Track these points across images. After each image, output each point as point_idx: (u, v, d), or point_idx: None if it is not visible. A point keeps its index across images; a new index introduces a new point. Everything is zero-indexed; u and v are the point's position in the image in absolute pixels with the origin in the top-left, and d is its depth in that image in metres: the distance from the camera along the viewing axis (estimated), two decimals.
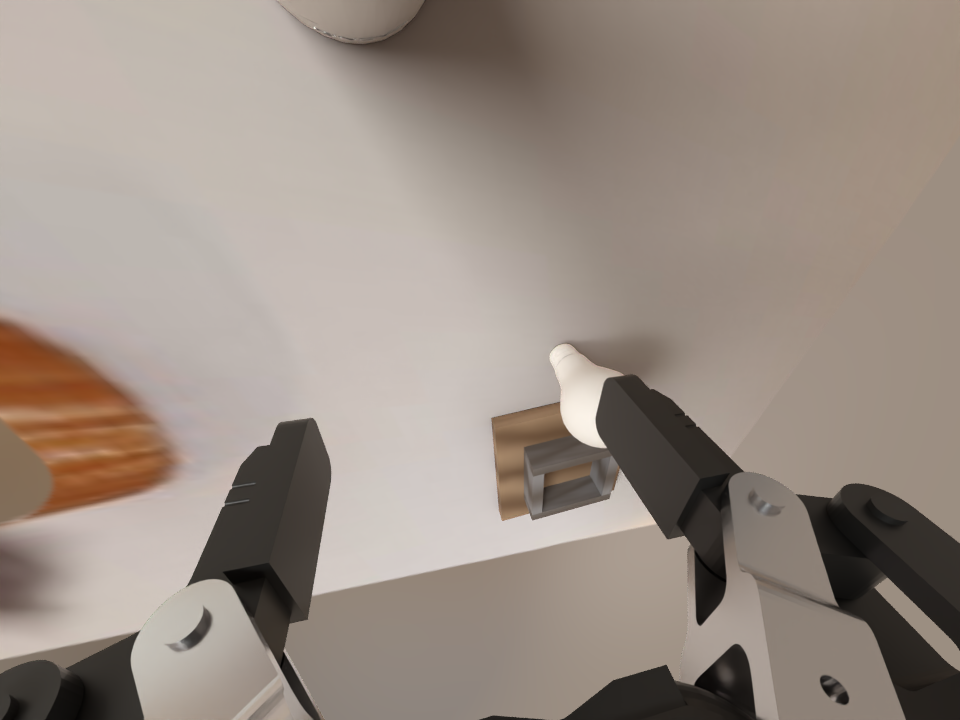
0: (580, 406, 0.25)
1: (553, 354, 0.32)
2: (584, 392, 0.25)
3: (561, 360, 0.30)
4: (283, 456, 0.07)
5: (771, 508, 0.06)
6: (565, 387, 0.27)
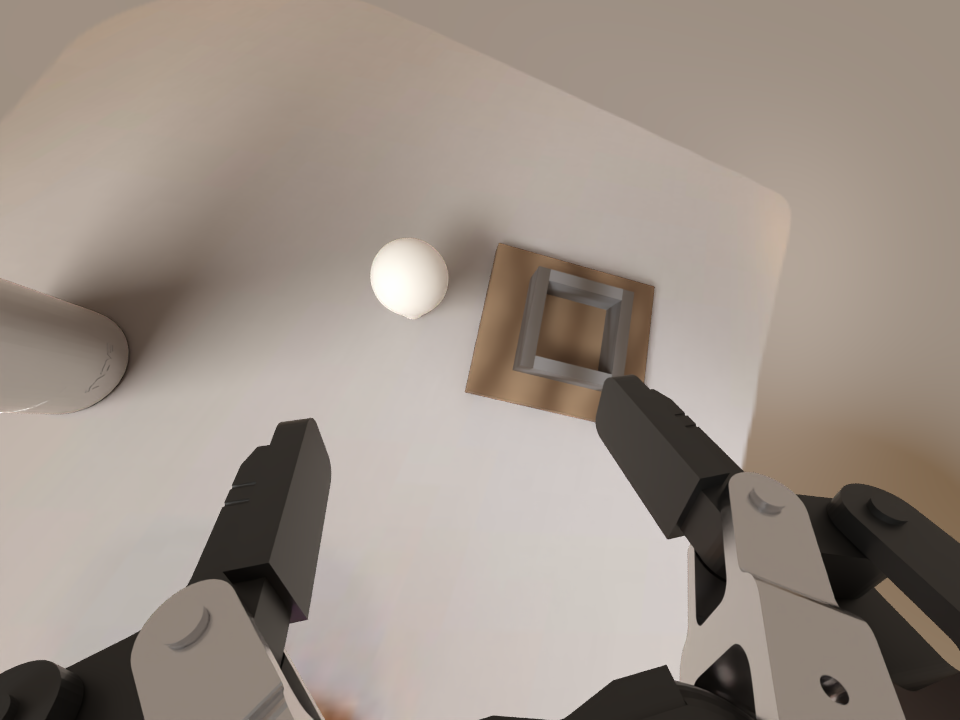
0: (379, 294, 0.27)
1: None
2: (373, 289, 0.27)
3: None
4: (283, 456, 0.07)
5: (771, 508, 0.06)
6: None
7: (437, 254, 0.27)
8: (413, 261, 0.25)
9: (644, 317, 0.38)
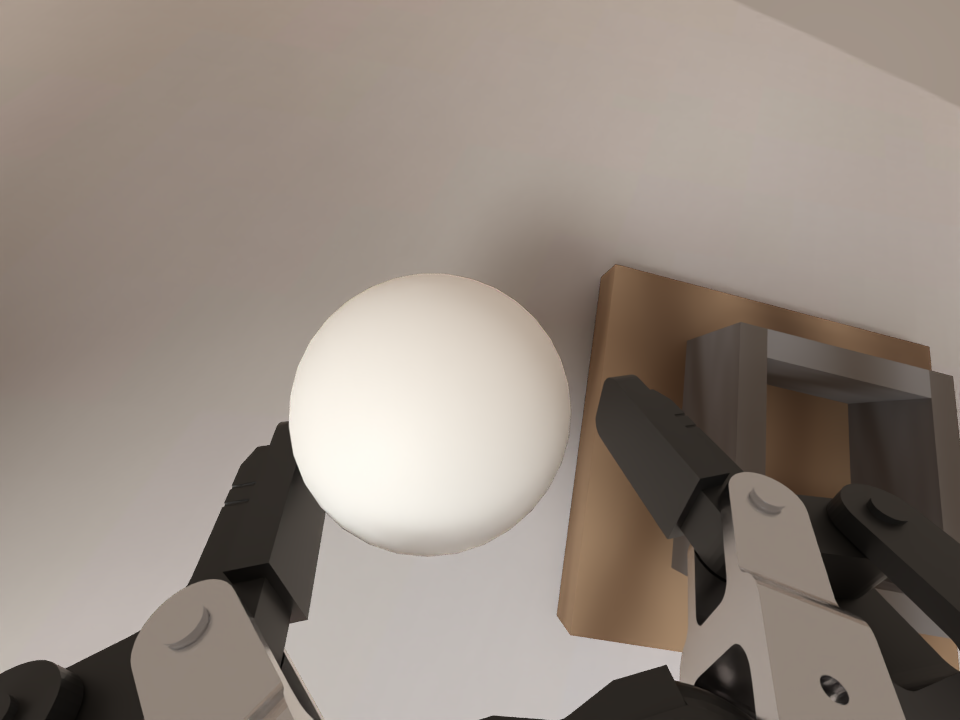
0: (320, 506, 0.07)
1: None
2: None
3: None
4: (283, 456, 0.07)
5: (771, 508, 0.06)
6: None
7: (543, 336, 0.07)
8: (464, 393, 0.05)
9: None
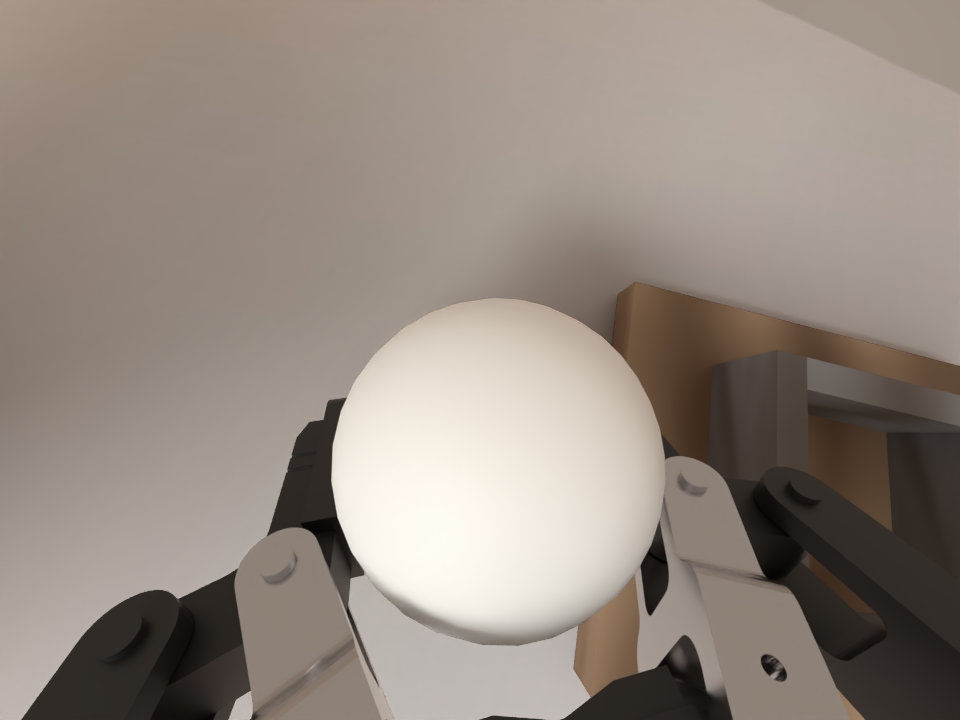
0: (379, 587, 0.05)
1: None
2: (344, 534, 0.06)
3: None
4: None
5: (695, 489, 0.07)
6: None
7: (634, 374, 0.06)
8: (595, 449, 0.04)
9: None
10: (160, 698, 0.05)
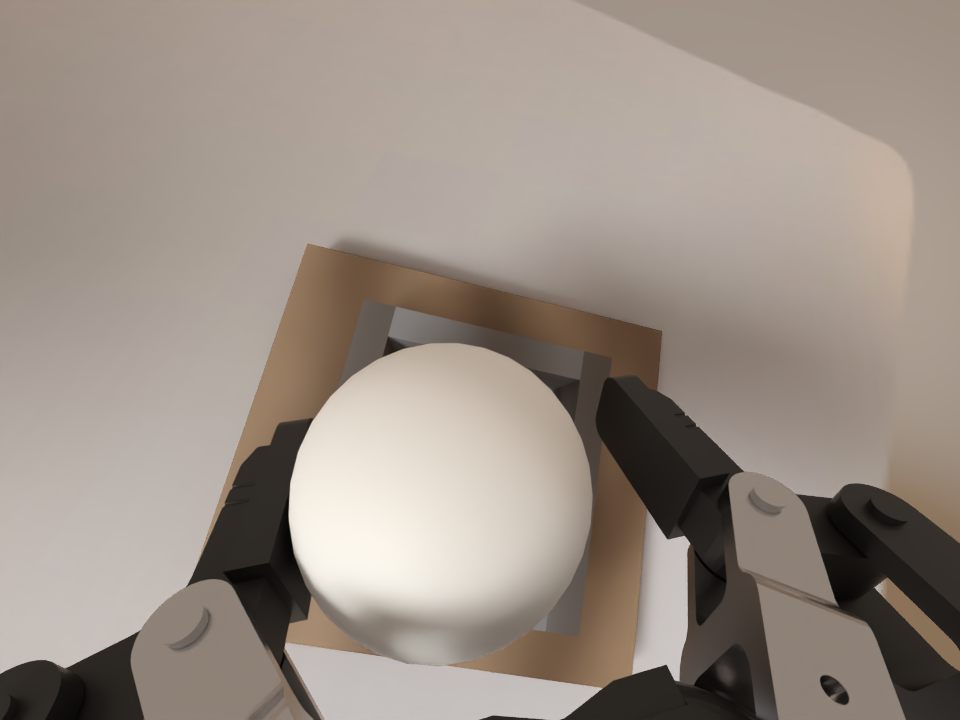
0: None
1: None
2: None
3: None
4: (283, 456, 0.07)
5: (771, 508, 0.06)
6: None
7: (564, 419, 0.07)
8: (484, 511, 0.05)
9: None
10: None
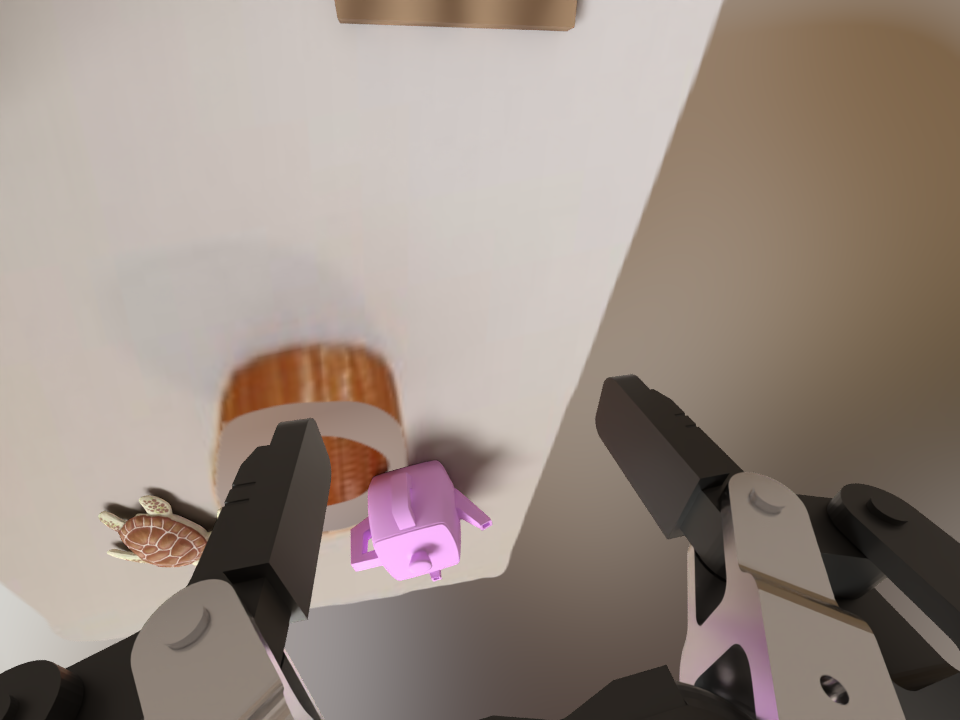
0: None
1: None
2: None
3: None
4: (283, 456, 0.07)
5: (771, 508, 0.06)
6: None
7: None
8: None
9: None
10: None
